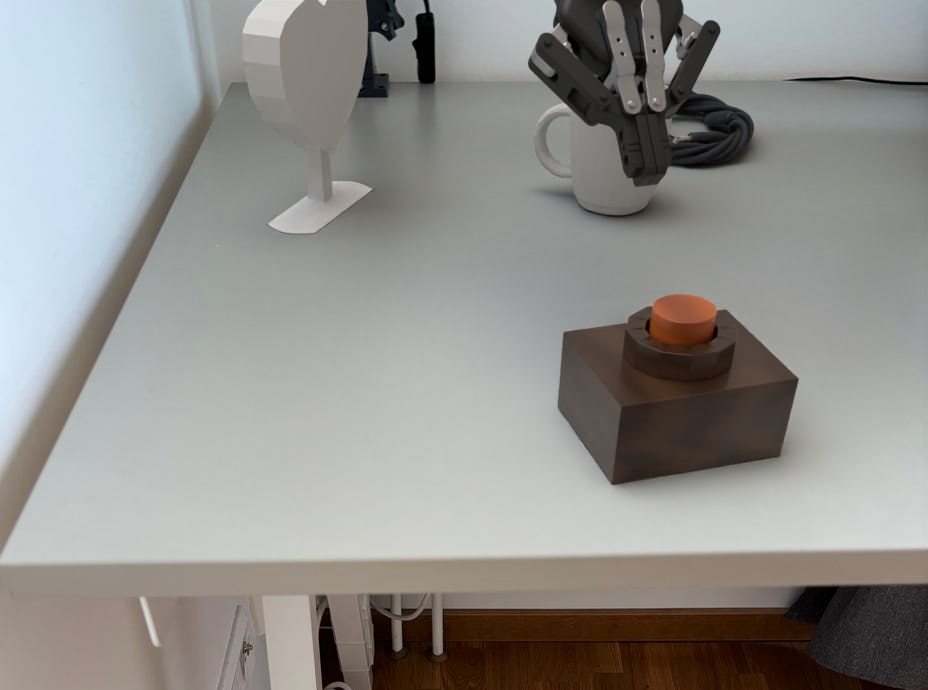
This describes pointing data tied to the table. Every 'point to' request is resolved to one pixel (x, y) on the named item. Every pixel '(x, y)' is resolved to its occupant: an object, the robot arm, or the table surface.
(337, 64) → the heart sculpture
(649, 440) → the control block
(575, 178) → the mug
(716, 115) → the cable
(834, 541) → the table surface
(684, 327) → the button
